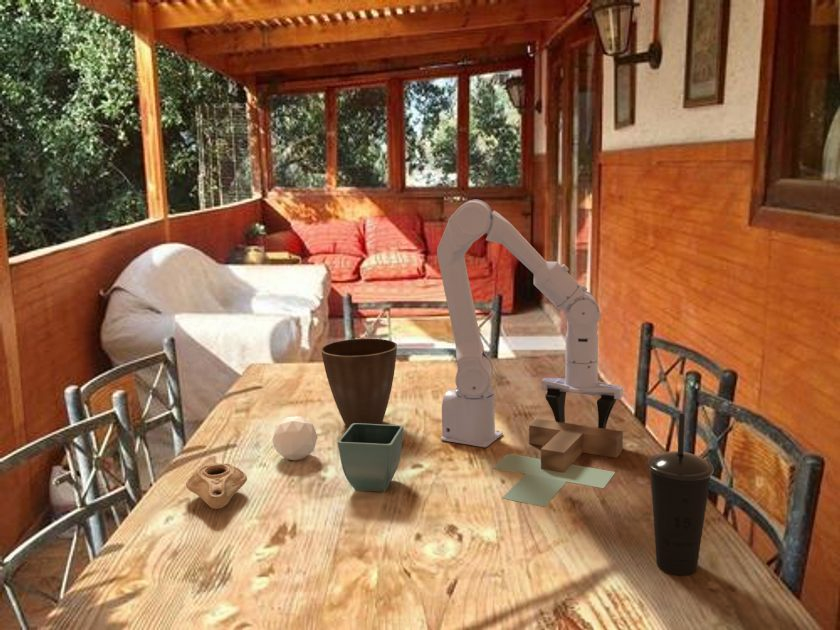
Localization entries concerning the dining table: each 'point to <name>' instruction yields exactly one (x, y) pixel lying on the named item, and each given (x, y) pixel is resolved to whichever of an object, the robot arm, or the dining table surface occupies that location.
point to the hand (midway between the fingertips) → (580, 431)
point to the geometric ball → (294, 438)
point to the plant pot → (360, 377)
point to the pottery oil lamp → (216, 483)
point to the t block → (572, 442)
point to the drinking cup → (679, 506)
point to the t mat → (546, 479)
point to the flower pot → (370, 455)
